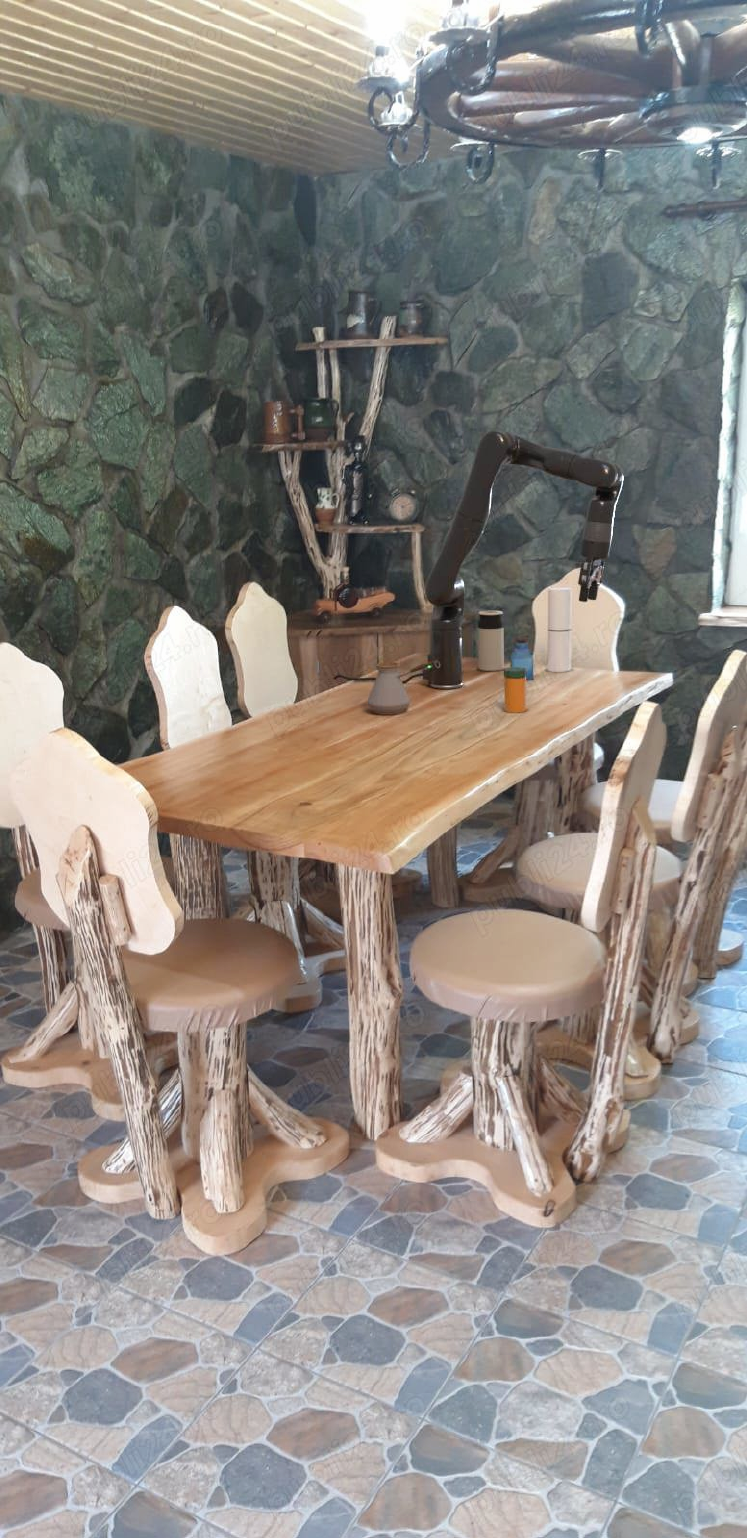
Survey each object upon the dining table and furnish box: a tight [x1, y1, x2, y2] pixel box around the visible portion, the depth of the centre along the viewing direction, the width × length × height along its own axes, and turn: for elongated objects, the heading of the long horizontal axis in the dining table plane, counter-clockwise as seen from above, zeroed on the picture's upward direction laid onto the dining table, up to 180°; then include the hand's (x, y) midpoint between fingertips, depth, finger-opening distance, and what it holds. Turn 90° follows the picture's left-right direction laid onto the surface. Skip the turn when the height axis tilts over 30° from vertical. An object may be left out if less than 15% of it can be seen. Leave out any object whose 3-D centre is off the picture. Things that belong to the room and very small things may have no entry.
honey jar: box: [503, 676, 527, 714], centre depth 310 cm, size 6×6×11 cm
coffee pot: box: [367, 660, 440, 716], centre depth 310 cm, size 21×12×15 cm, turn 57°
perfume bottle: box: [509, 637, 534, 681], centre depth 353 cm, size 6×6×12 cm
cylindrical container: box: [547, 587, 573, 673], centre depth 363 cm, size 7×7×25 cm
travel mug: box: [477, 610, 505, 672], centre depth 368 cm, size 8×8×18 cm
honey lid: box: [503, 667, 527, 678], centre depth 309 cm, size 6×6×2 cm
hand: (587, 600), depth 315 cm, fingers open, 8 cm apart
